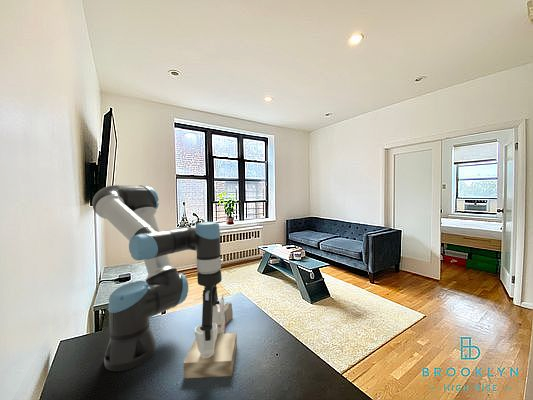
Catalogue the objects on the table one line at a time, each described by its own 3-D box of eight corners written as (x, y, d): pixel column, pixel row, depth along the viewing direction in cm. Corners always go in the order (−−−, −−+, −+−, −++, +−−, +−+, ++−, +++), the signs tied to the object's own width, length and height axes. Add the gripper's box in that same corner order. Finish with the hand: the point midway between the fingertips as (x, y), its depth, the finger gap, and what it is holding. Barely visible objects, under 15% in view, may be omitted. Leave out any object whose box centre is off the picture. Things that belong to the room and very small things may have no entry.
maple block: (184, 379, 68) (183, 363, 68) (197, 348, 82) (196, 334, 82) (231, 377, 68) (231, 360, 68) (236, 346, 82) (236, 332, 82)
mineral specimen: (220, 314, 105) (220, 300, 105) (234, 315, 103) (234, 301, 103) (205, 329, 93) (204, 313, 93) (221, 331, 90) (220, 315, 90)
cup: (190, 359, 69) (189, 332, 69) (207, 340, 78) (206, 316, 78) (211, 363, 67) (210, 334, 67) (226, 342, 76) (225, 318, 77)
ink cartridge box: (213, 329, 92) (211, 293, 91) (225, 328, 92) (224, 292, 91) (208, 343, 83) (206, 304, 83) (222, 343, 83) (220, 303, 83)
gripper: (217, 283, 62) (220, 361, 63) (223, 259, 87) (225, 315, 87) (188, 285, 62) (191, 364, 62) (203, 260, 86) (205, 317, 86)
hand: (211, 335), depth 75 cm, fingers open, 13 cm apart
